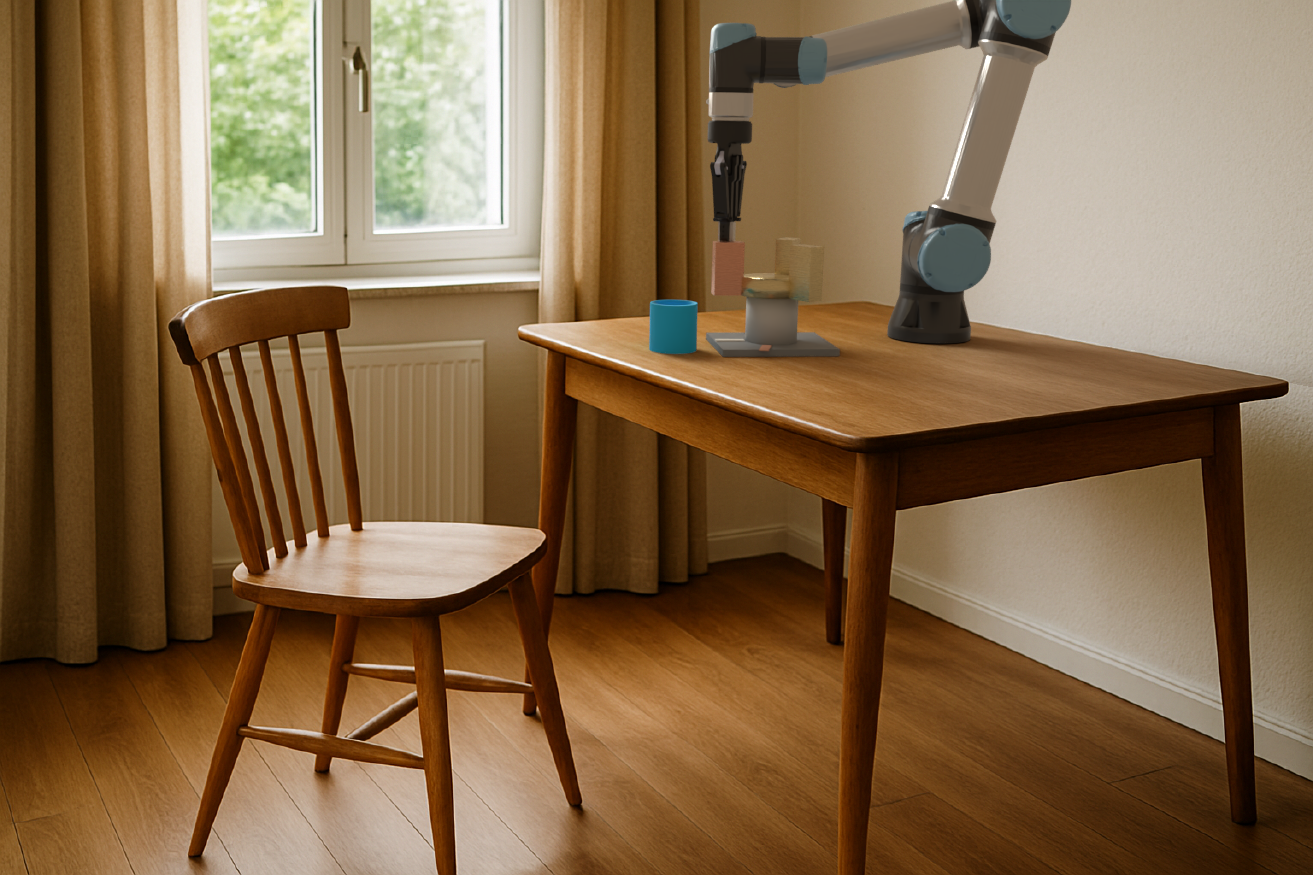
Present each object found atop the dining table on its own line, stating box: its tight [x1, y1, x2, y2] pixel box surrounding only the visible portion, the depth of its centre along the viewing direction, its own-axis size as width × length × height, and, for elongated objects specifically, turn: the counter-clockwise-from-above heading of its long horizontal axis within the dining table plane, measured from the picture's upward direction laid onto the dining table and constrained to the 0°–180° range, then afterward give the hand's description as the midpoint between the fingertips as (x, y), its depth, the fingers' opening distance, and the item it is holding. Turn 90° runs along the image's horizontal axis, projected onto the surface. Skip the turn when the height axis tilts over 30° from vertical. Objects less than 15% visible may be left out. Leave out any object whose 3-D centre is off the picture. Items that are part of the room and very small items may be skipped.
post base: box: [705, 297, 841, 358], centre depth 217 cm, size 20×20×9 cm
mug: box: [648, 299, 699, 355], centre depth 216 cm, size 12×8×8 cm
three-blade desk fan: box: [710, 236, 825, 303], centre depth 215 cm, size 17×20×9 cm
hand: (725, 259), depth 217 cm, fingers closed
